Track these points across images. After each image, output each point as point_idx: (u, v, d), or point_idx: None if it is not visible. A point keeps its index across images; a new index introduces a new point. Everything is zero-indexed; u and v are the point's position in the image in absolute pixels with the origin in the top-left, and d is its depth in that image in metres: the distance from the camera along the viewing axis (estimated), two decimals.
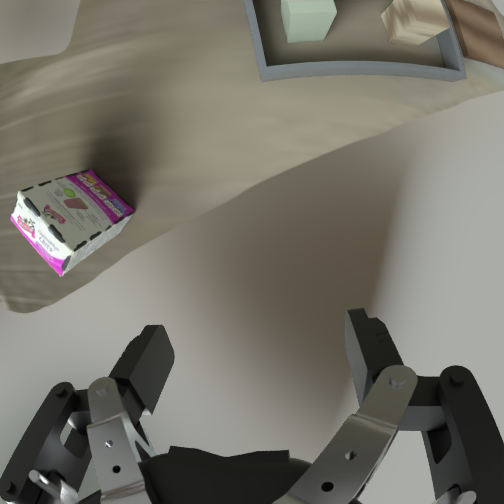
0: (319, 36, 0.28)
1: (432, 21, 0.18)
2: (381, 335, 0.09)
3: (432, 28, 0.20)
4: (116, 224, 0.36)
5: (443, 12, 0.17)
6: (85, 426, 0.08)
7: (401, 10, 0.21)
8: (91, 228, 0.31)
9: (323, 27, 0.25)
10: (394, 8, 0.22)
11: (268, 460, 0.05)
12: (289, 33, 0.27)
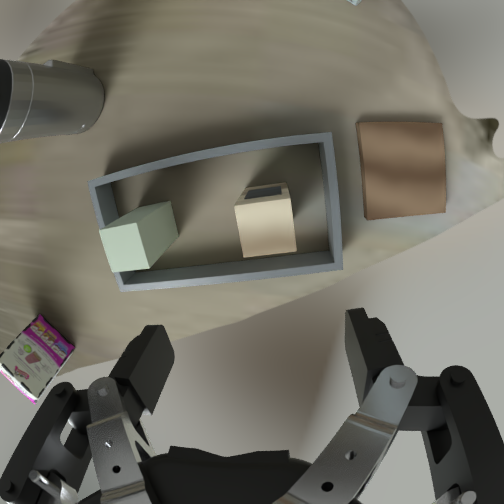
0: None
1: (267, 251, 0.26)
2: (381, 335, 0.09)
3: None
4: (62, 365, 0.44)
5: (290, 229, 0.25)
6: (85, 426, 0.08)
7: None
8: (46, 376, 0.39)
9: None
10: None
11: (268, 460, 0.05)
12: None
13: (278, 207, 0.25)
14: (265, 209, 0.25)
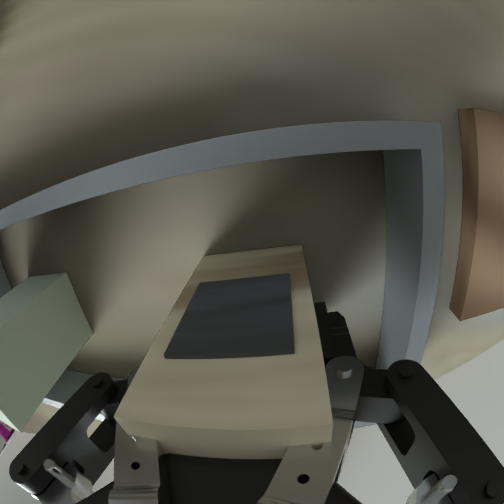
0: None
1: None
2: (339, 328, 0.10)
3: None
4: (10, 438, 0.24)
5: None
6: None
7: None
8: None
9: None
10: None
11: (268, 460, 0.05)
12: None
13: (278, 443, 0.05)
14: (226, 444, 0.05)
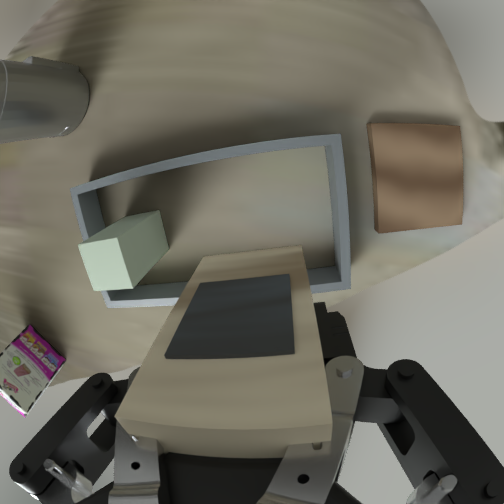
0: None
1: None
2: (339, 328, 0.10)
3: None
4: (52, 378, 0.40)
5: None
6: None
7: None
8: (35, 390, 0.35)
9: None
10: None
11: (268, 460, 0.05)
12: None
13: (278, 443, 0.05)
14: (227, 444, 0.05)
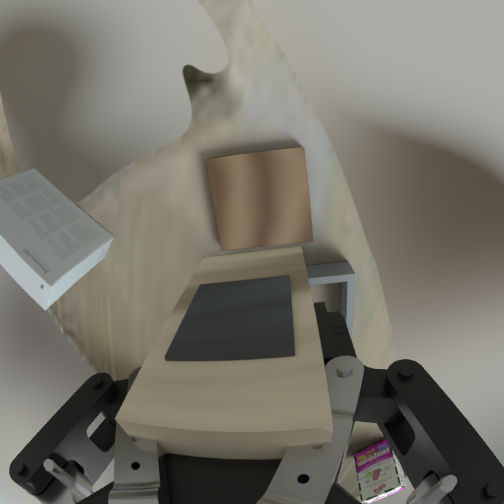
0: None
1: None
2: (339, 328, 0.10)
3: None
4: (393, 453, 0.50)
5: None
6: None
7: None
8: (392, 471, 0.45)
9: None
10: None
11: (268, 460, 0.05)
12: None
13: (279, 445, 0.05)
14: (227, 446, 0.05)
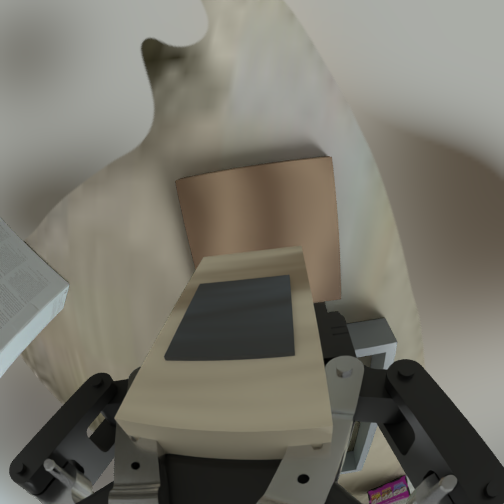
0: None
1: None
2: (339, 328, 0.10)
3: None
4: (410, 492, 0.37)
5: None
6: None
7: None
8: None
9: None
10: None
11: (268, 460, 0.05)
12: None
13: (279, 445, 0.05)
14: (227, 446, 0.05)
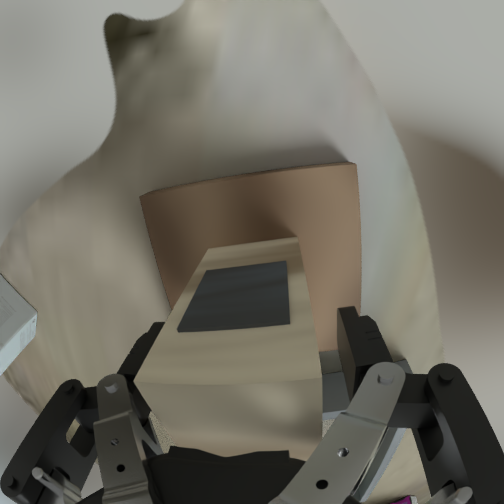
0: None
1: None
2: (371, 333, 0.09)
3: None
4: None
5: (312, 435, 0.07)
6: (93, 424, 0.08)
7: None
8: None
9: None
10: None
11: (268, 460, 0.05)
12: None
13: (277, 399, 0.06)
14: (232, 401, 0.07)
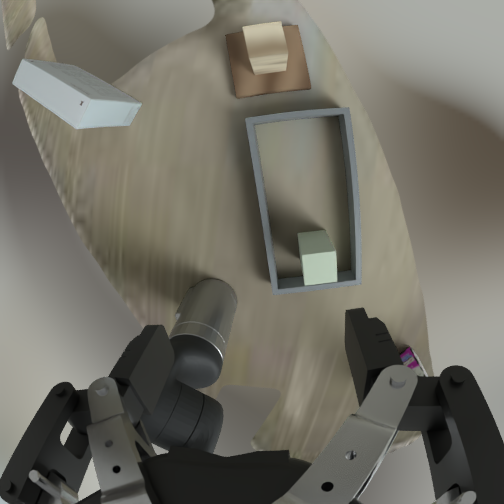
0: None
1: (266, 53, 0.29)
2: (381, 335, 0.09)
3: (274, 58, 0.31)
4: (418, 362, 0.52)
5: (282, 38, 0.28)
6: (85, 426, 0.08)
7: None
8: None
9: None
10: None
11: (268, 460, 0.05)
12: None
13: (273, 26, 0.27)
14: (264, 27, 0.27)
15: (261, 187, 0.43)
